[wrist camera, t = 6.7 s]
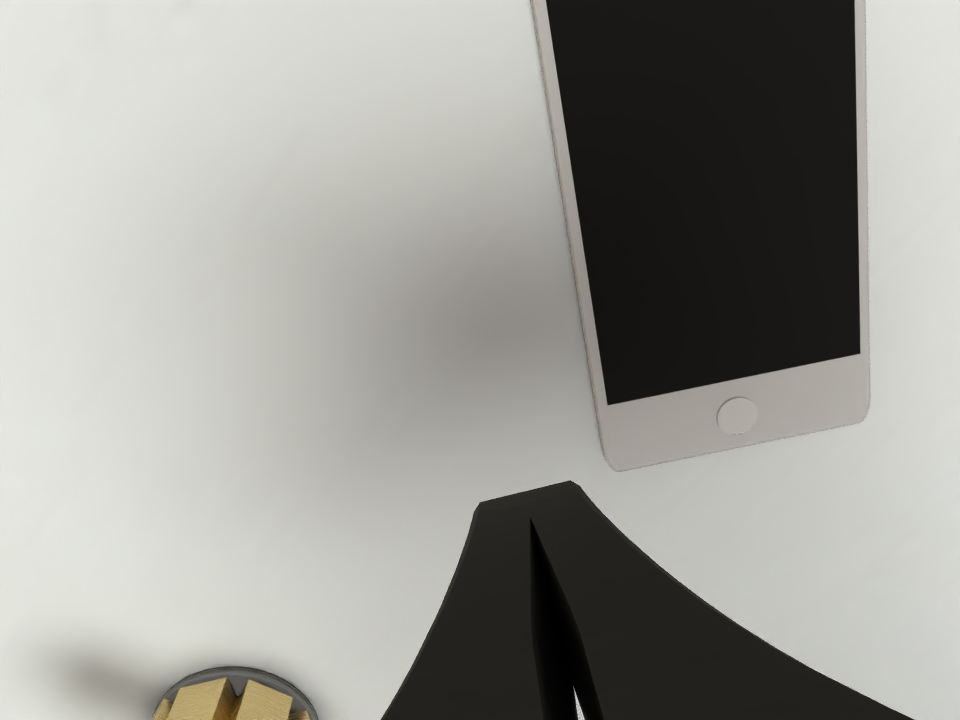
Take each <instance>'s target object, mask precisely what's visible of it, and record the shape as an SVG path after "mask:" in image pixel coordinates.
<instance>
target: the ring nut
mask: <svg viewBox="0 0 960 720" xmlns="http://www.w3.org/2000/svg"><path fill="white" fill-rule="evenodd" d="M292 699H293V697H291V696H288V695H286V694H283V693H281V692H278V691H276V690H274V689H271V688H269V687H266V686H264V685H262V684H259V683H257V682H254V681H252V680H250V679H249V680H248V681H247V683H246V684H245V686H244V687H243V689H242V691H241V692H240V694H239V695H238V697H237V698H236V696H235V694H234V692H233V690H232V688H231V685H230V683H229V681H228V679H227V677H226V678H222V679H217V680H213V681H208V682H204V683H200V684H195V685H191V686H187V687H182V688H180V689H179V691H178V694H177V696H176V699H175V701H174V702H171V701H169V700H166V699H163V701H162V702H161V704H160V706H159V707H158V709H157V711H156V712H155V714H154V716H153V717H152V719H151V720H310V717H309V715H308V712H307V710H305V711H301V712H296V713H292V714H289V711H290V707H291V703H292Z"/></svg>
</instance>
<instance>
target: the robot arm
mask: <svg viewBox="0 0 960 720" xmlns="http://www.w3.org/2000/svg"><path fill="white" fill-rule="evenodd" d="M573 686H574V687H573ZM574 689H575V692H576V695H577V698H578V701H579V704H580V706H581V709H582V712H583V715H584V718H585V720H914V719H912V718H910V717H908V716H905V715H903V714H901V713H899V712H897V711H895V710H893V709H890V708H888V707H886V706H884V705H883V704H881V703H879V702H877V701H875V700H873V699H871V698H869V697H867V696H865V695H863V694H861V693H859V692H857V691H855V690H853V689H851V688H849V687H847V686H845V685H843V684H841V683H839V682H837V681H835V680H833V679H831V678H829V677H827V676H825V675H823V674H821V673H819V672H817V671H815V670H813V669H811V668H810V667H808V666H806V665H804V664H803V663H801V662H799V661H798V660H796V659H794V658H792V657H791V656H789V655H787V654H785V653H784V652H782V651H780V650H779V649H777V648H775V647H773V646H772V645H770V644H769V643H767V642H765V641H764V640H762V639H761V638H759V637H758V636H756V635H754V634H753V633H751V632H750V631H748V630H746V629H745V628H743V627H742V626H740V625H739V624H737V623H736V622H734V621H733V620H731V619H730V618H728V617H727V616H725V615H724V614H722V613H721V612H719V611H718V610H717V609H715V608H714V607H712V606H711V605H710V604H708V603H707V602H705V601H704V600H703V599H701V598H700V597H699V596H697V595H696V594H695V593H693V592H692V591H691V590H690V589H688V588H687V587H686V586H684V585H683V584H682V583H680V582H679V581H678V580H676V579H675V578H674V577H673V576H671V575H670V574H669V573H668V572H666V571H665V570H664V569H663V568H662V567H660V566H659V565H658V564H657V563H656V562H654V561H653V560H652V559H651V558H650V557H649V556H648V555H646V554H645V553H644V552H643V551H642V550H641V549H640V548H639V547H637V546H636V545H635V544H634V543H633V542H632V541H631V540H629V539H628V538H627V537H626V536H625V535H624V534H623V533H622V532H621V531H620V530H619V529H618V528H617V527H616V526H615V525H614V524H613V523H612V522H611V521H610V520H609V519H608V518H607V517H606V516H605V515H604V514H603V513H602V512H601V511H600V510H599V509H598V508H597V507H596V505H595V504H594V503H593V502H592V501H591V500H590V499H589V497H588V496H587V495H586V494H585V492H584V491H583V490H582V488H581V487H580V486H579V485H577V484H576V483H574V482H572V481H571V480H570V481H566V482H562V483H558V484H553V485H549V486H545V487H541V488H537V489H533V490H529V491H525V492H521V493H517V494H512V495H508V496H504V497H500V498H496V499H492V500H488V501H484V502H480V503H479V505H478V506H477V508H476V509H475V511H474V514H473V518H472V522H471V526H470V529H469V533H468V536H467V539H466V542H465V545H464V548H463V551H462V554H461V557H460V560H459V562H458V565H457V568H456V570H455V573H454V575H453V578H452V580H451V583H450V585H449V588H448V590H447V592H446V595H445V597H444V600H443V602H442V605H441V607H440V609H439V612H438V614H437V616H436V618H435V620H434V622H433V624H432V626H431V628H430V630H429V632H428V634H427V636H426V638H425V640H424V643H423V645H422V647H421V649H420V651H419V653H418V655H417V657H416V659H415V661H414V663H413V665H412V667H411V668H410V670H409V672H408V674H407V676H406V678H405V679H404V681H403V683H402V685H401V687H400V688H399V690H398V692H397V694H396V695H395V697H394V699H393V700H392V702H391V704H390V706H389V707H388V709H387V710H386V712H385V714H384V715H383V717H382V718H381V720H578V716H577V709H576V701H575V694H574Z"/></svg>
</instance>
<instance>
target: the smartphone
mask: <svg viewBox="0 0 960 720" xmlns="http://www.w3.org/2000/svg"><path fill="white" fill-rule="evenodd" d="M531 6H532V12H533V18H534V24H535V31H536V37H537V43H538V50H539V56H540V62H541V68H542V75H543V81H544V87H545V94H546V100H547V106H548V112H549V119H550V125H551V131H552V137H553V144H554V150H555V156H556V163H557V169H558V175H559V181H560V188H561V194H562V200H563V207H564V213H565V219H566V225H567V232H568V238H569V244H570V251H571V257H572V263H573V269H574V276H575V282H576V288H577V294H578V301H579V307H580V313H581V320H582V326H583V332H584V338H585V345H586V351H587V357H588V364H589V370H590V376H591V382H592V389H593V395H594V401H595V408H596V414H597V420H598V426H599V433H600V439H601V445H602V449H603V453H604V455H605V457H606V460H607V461H608V463H609V465H610V467H611V468H612V469H613V470H615V471H618V472H621V471H626V470H631V469H636V468H640V467H645V466H650V465H655V464H660V463H665V462H670V461H675V460H680V459H685V458H690V457H695V456H700V455H704V454H709V453H714V452H719V451H724V450H729V449H734V448H739V447H744V446H749V445H754V444H759V443H764V442H768V441H773V440H778V439H783V438H788V437H793V436H798V435H803V434H808V433H813V432H818V431H823V430H828V429H833V428H837V427H842V426H847V425H852V424H857V423H860V422H861V421H863V420H864V418H865V417H866V415H867V413H868V409H869V405H870V346H869V263H868V180H867V97H866V14H865V0H531Z"/></svg>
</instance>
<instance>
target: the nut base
mask: <svg viewBox="0 0 960 720" xmlns="http://www.w3.org/2000/svg"><path fill="white" fill-rule="evenodd" d="M226 677H227V679H228V681H229V683H230V685H231V688H232V690H233V692H234V694H235V696H236V698H237V697H238V695H239V694H240V692H241V691H242V689H243V687H244V686H245V684H246V683H247V681H248V680H249V679H250V680H252V681H254V682H257V683H259V684H262V685H264V686H266V687H269V688H271V689H274V690H276V691H278V692H281V693H283V694H286V695H288V696H291V697H293V699H292V703H291V707H290V711H289V714H292V713H296V712H301V711H305V710H307V712H308V715H309V717H310V720H318V718H317V715H316V713H315V711H314V709H313V707H312V705H311V704H310V702H309V701H308V700H307V698H306V697H305V696H304V695H303V694H302V693H301V692H300V691H299V690H297V689H296V688H295V687H294V686H292V685H291V684H289V683H288V682H286V681H284V680H283V679H281V678H278V677H276V676H274V675H272V674H269V673H266V672H263V671H259V670H254V669H249V668H240V667H226V668H216V669H210V670H206V671H203V672H199V673H196V674H194V675H192V676H189V677H187V678H185V679H184V680H182V681H180V682H179V683H177V684H176V685H175V686H173V687H172V688H171V689H170V690H169V691H168V692H167V693H166V694H165V695H164V697H163V698H162V699H161V701H160V702H159V704H158V706H157V709H158V707H159V706H160V704H161V702H162V701H163V699H166V700H169V701H171V702H174V701H175V699H176V696H177V694H178V691H179V689H180V688H182V687H187V686H191V685H195V684H200V683H204V682H208V681H213V680H217V679H222V678H226ZM157 709H156V711H157ZM156 711H155V712H156ZM154 714H155V713H154ZM153 716H154V715H153Z"/></svg>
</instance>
